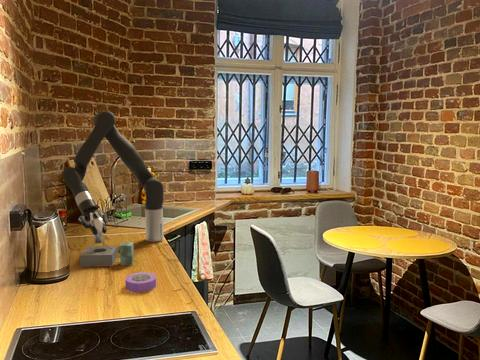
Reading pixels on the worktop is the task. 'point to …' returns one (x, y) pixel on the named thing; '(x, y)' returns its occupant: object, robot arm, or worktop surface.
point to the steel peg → (98, 230)
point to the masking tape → (140, 282)
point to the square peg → (126, 253)
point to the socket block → (99, 256)
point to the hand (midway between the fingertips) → (100, 233)
